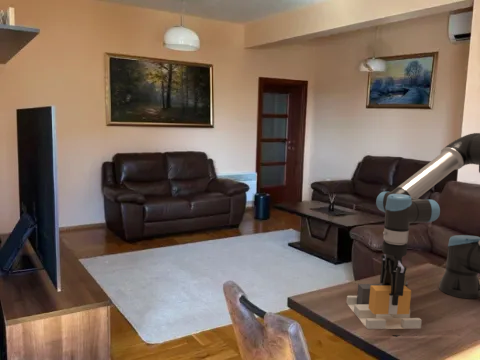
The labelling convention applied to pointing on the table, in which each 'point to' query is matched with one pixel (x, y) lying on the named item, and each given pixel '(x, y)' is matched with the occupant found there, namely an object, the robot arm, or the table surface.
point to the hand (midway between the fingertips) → (389, 310)
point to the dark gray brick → (364, 293)
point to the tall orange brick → (387, 300)
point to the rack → (382, 317)
